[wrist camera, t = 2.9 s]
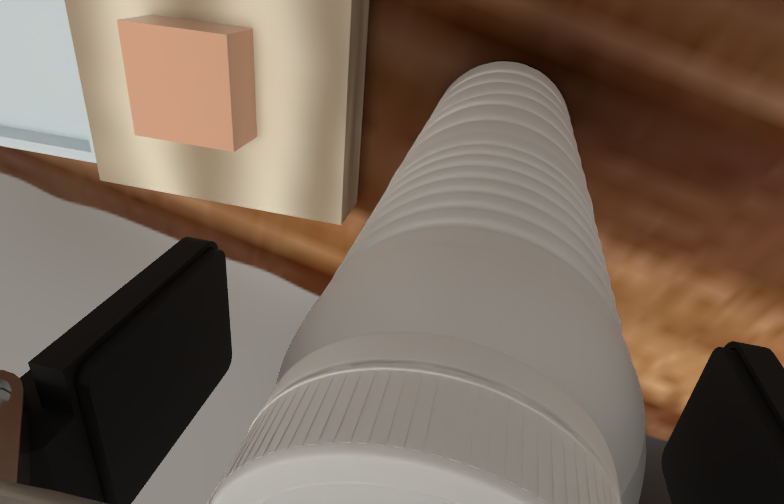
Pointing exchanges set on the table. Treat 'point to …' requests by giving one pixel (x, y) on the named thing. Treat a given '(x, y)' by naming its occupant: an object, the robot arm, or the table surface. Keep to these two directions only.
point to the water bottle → (461, 331)
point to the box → (41, 82)
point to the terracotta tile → (190, 80)
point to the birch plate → (273, 105)
